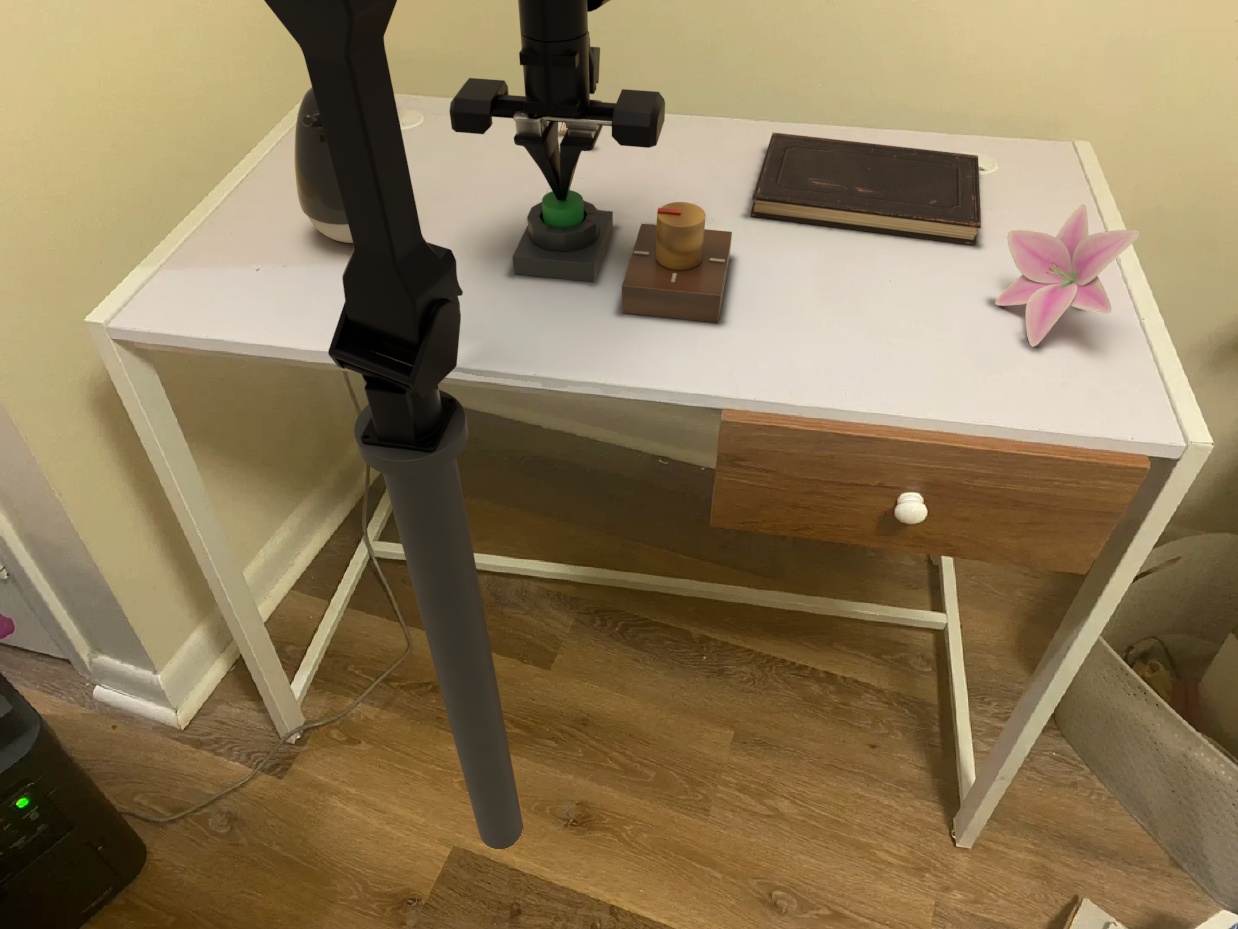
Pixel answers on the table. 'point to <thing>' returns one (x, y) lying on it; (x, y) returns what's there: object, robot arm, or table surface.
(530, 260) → the button base
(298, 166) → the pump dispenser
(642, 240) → the panel
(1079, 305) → the lily
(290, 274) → the table surface
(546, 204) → the button
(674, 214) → the dial
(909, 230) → the hardcover book
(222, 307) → the table surface
